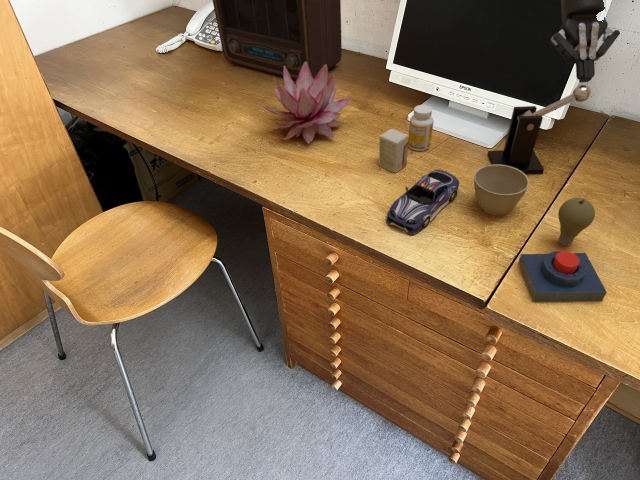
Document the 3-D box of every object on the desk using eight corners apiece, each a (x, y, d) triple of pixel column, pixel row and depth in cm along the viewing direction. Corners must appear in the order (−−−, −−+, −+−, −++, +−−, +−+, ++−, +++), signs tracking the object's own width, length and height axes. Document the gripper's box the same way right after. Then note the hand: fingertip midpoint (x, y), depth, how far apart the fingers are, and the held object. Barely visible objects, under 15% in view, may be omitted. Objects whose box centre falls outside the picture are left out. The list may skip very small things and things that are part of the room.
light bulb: (578, 258, 85) (597, 215, 78) (545, 248, 87) (561, 205, 80) (583, 238, 88) (601, 196, 81) (551, 230, 90) (566, 187, 83)
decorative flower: (289, 162, 112) (282, 103, 102) (254, 124, 126) (245, 69, 116) (366, 136, 119) (367, 78, 108) (325, 103, 133) (322, 48, 122)
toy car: (381, 222, 94) (382, 202, 91) (430, 178, 104) (432, 159, 101) (415, 238, 91) (417, 218, 87) (462, 191, 100) (466, 171, 97)
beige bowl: (512, 191, 99) (520, 163, 94) (526, 223, 92) (536, 193, 87) (464, 193, 100) (469, 164, 95) (474, 224, 93) (480, 195, 88)
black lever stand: (531, 153, 109) (546, 102, 100) (542, 174, 103) (559, 120, 94) (487, 155, 110) (498, 103, 101) (495, 175, 104) (508, 122, 95)
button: (571, 258, 80) (575, 250, 78) (579, 274, 77) (583, 266, 76) (549, 258, 80) (552, 251, 79) (557, 274, 77) (560, 266, 76)
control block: (581, 261, 84) (589, 245, 81) (602, 301, 77) (611, 284, 75) (517, 262, 85) (523, 246, 82) (533, 302, 78) (539, 285, 75)
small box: (407, 165, 108) (409, 135, 103) (395, 173, 106) (397, 143, 101) (390, 157, 111) (391, 127, 106) (377, 165, 109) (378, 135, 104)
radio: (220, 65, 156) (199, -38, 136) (256, 46, 166) (241, -53, 146) (309, 89, 140) (300, -24, 119) (342, 66, 150) (340, -42, 129)
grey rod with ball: (588, 92, 96) (585, 79, 94) (595, 99, 94) (591, 86, 92) (519, 125, 102) (514, 113, 100) (523, 132, 99) (519, 121, 97)
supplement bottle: (415, 154, 112) (419, 117, 105) (403, 143, 115) (406, 107, 109) (435, 147, 113) (439, 110, 107) (422, 137, 117) (425, 101, 110)
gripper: (556, -15, 91) (559, 75, 90) (628, -19, 90) (632, 72, 89) (540, 6, 98) (543, 89, 97) (606, 2, 97) (610, 86, 97)
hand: (585, 80), depth 93 cm, fingers closed
